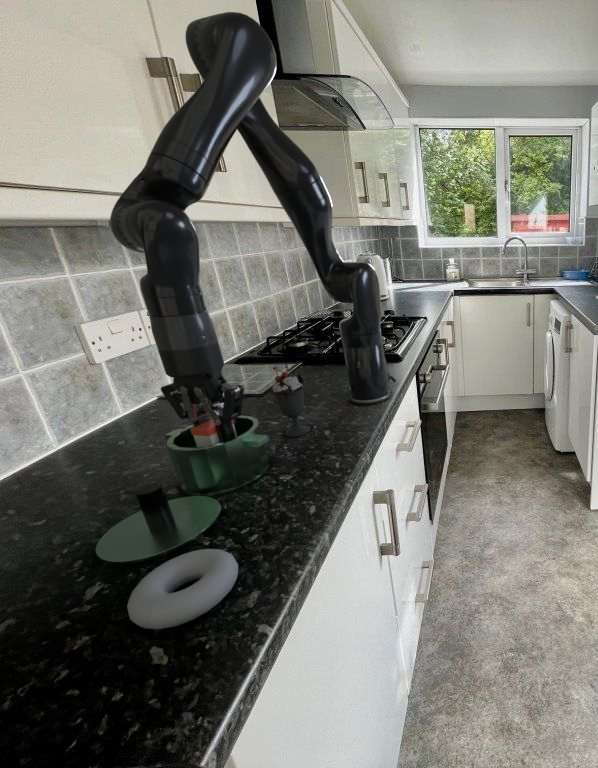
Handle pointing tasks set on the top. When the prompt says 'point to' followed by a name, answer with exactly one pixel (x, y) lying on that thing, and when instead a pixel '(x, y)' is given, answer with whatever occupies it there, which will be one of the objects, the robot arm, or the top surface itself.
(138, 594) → the donut
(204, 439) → the block
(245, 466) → the pot
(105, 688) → the top surface
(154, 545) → the lid
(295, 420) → the sundae
